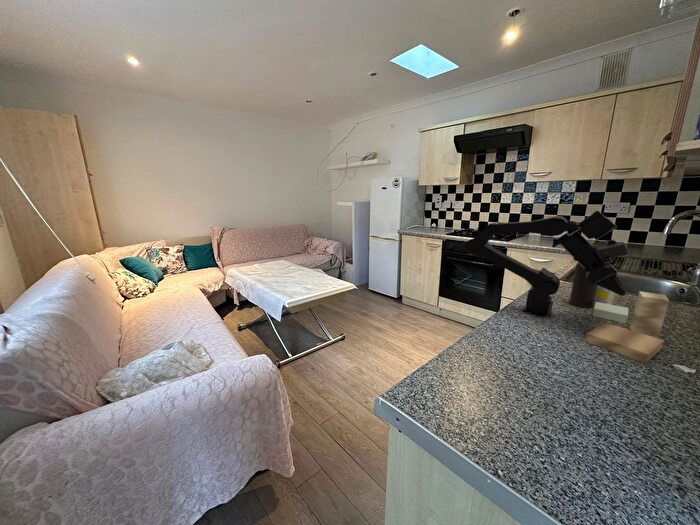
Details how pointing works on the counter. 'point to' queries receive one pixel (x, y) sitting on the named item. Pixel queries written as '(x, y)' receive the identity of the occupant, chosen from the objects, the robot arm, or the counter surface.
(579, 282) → the vinegar
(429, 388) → the counter surface
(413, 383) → the counter surface
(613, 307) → the sage block
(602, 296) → the supplement bottle
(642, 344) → the oak block
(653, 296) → the beech post
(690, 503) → the counter surface
